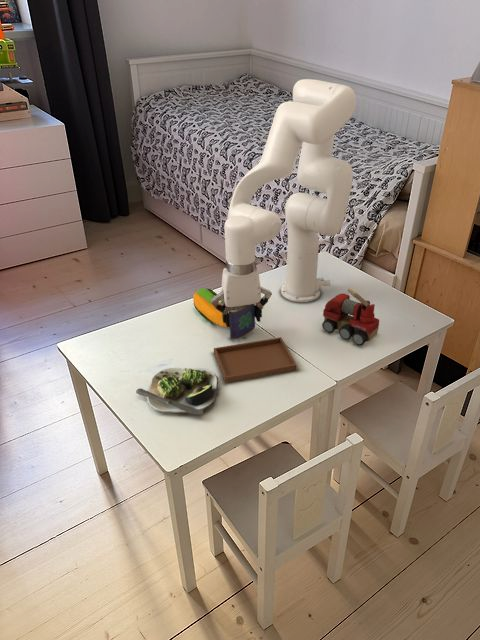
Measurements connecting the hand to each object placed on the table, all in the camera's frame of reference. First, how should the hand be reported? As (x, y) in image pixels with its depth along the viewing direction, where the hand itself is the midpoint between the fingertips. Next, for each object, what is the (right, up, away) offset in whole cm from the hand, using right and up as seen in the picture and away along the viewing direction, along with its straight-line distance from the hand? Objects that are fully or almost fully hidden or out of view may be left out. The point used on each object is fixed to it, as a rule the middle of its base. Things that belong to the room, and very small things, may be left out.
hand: (242, 321), depth 151 cm
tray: (+4, -12, -7) cm, 14 cm away
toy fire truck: (+30, -4, +5) cm, 30 cm away
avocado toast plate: (-13, -20, -18) cm, 30 cm away
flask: (0, -3, +3) cm, 4 cm away
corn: (-9, +2, +9) cm, 13 cm away
